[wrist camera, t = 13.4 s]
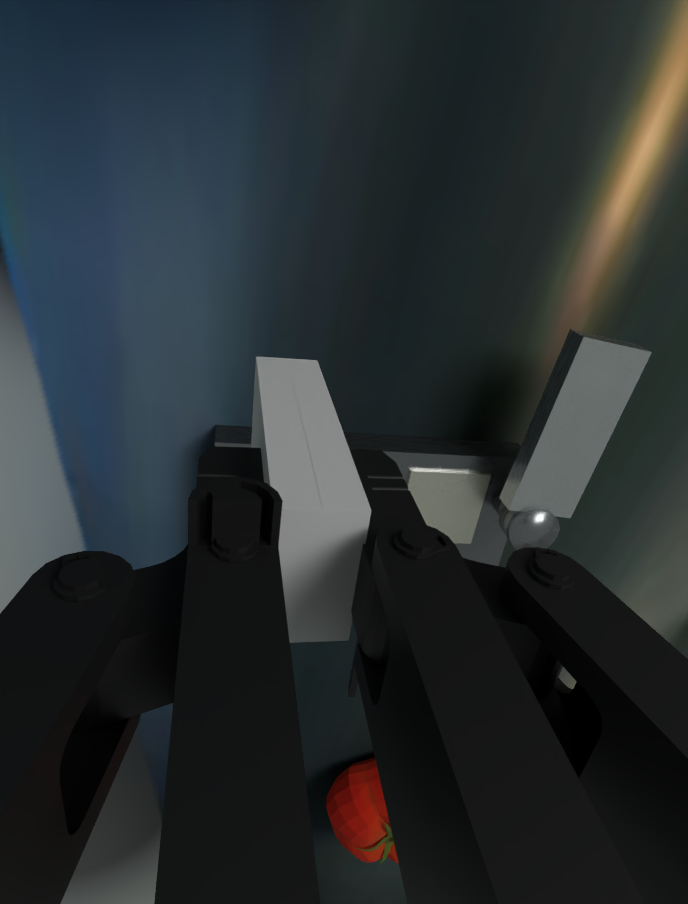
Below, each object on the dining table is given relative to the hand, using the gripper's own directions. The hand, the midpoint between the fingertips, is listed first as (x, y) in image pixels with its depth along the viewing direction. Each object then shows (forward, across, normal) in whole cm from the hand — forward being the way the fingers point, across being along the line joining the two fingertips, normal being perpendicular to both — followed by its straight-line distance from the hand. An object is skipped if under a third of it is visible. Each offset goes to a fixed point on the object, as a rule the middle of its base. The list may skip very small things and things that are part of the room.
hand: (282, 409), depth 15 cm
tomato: (+28, +18, -60) cm, 69 cm away
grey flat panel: (+23, +24, -13) cm, 36 cm away
